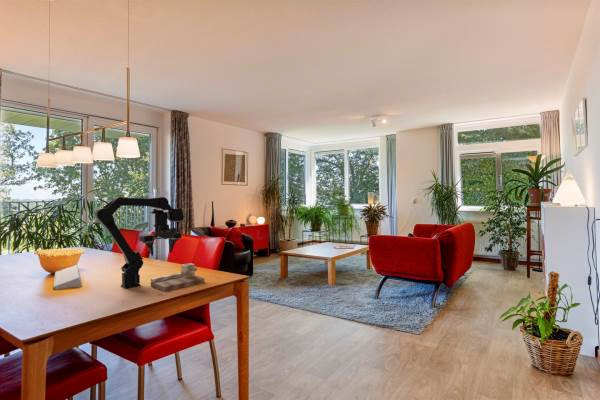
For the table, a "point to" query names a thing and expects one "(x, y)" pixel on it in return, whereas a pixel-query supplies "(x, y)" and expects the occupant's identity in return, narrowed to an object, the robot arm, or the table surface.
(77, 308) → the table surface
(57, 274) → the white wedge doorstop
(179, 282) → the board
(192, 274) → the ball-top joystick
